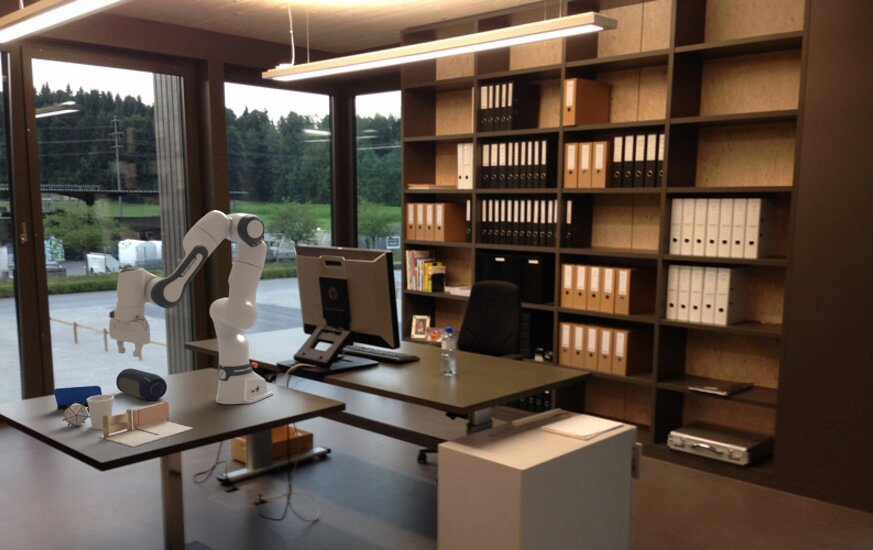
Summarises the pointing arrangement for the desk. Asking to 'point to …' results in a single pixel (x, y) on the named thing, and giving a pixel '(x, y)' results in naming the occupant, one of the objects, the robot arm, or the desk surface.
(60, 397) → the handheld game console
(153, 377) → the portable speaker
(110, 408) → the dixie cup
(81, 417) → the game die
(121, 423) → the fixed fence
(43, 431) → the desk surface
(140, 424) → the fence gate
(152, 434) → the card
